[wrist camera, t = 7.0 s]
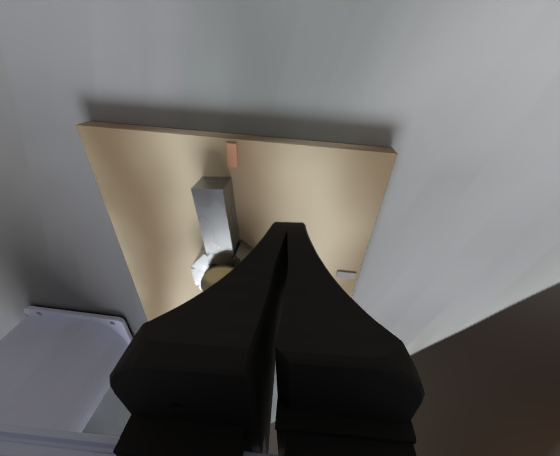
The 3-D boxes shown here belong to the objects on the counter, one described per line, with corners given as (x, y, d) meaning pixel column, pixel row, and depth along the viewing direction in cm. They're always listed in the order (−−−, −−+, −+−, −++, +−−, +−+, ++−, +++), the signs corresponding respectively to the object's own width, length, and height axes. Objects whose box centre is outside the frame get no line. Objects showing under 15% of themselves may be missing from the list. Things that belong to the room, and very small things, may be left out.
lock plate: (154, 312, 22) (132, 348, 20) (90, 121, 14) (32, 136, 11) (334, 334, 22) (338, 375, 19) (391, 147, 13) (415, 172, 10)
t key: (265, 320, 20) (262, 339, 19) (216, 317, 20) (210, 335, 19) (253, 177, 13) (247, 189, 12) (180, 176, 14) (167, 188, 12)
